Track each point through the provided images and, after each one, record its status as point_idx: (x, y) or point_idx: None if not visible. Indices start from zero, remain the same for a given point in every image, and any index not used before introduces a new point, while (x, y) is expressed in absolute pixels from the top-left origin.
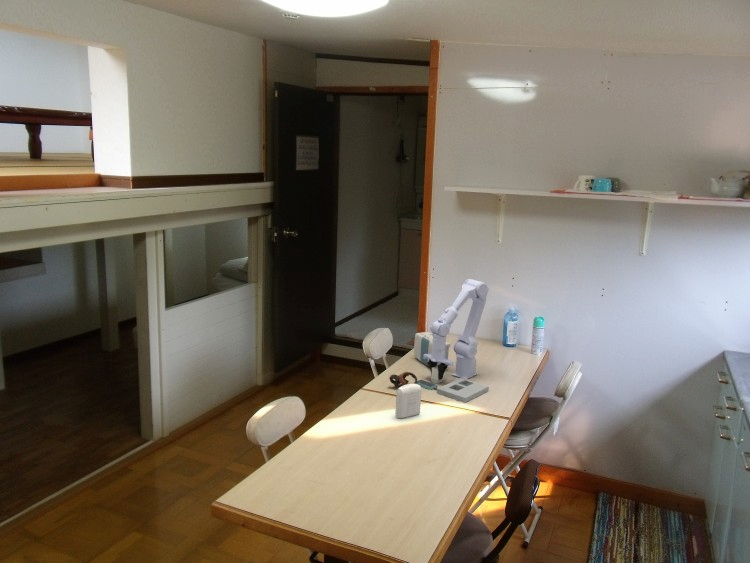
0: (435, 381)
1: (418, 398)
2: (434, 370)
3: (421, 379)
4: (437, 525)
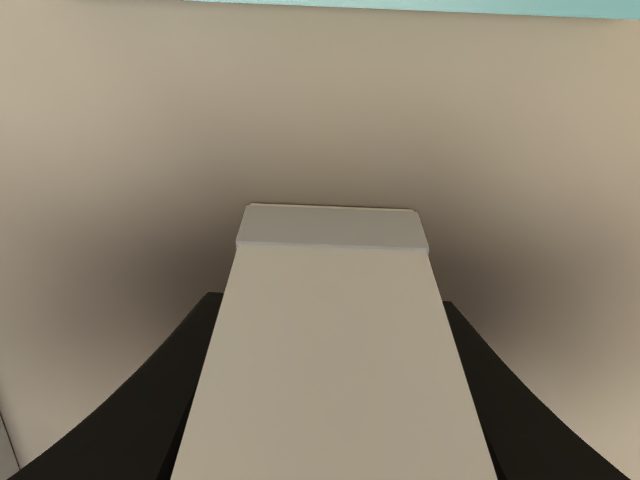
0: (293, 218)
1: None
2: (352, 430)
3: (638, 17)
4: None
